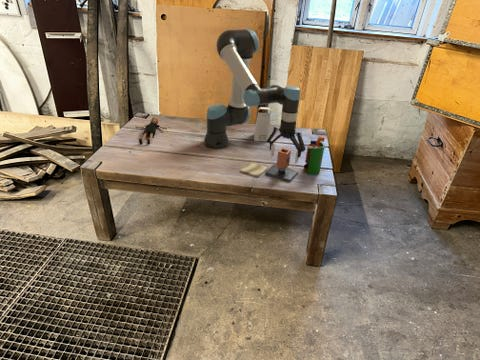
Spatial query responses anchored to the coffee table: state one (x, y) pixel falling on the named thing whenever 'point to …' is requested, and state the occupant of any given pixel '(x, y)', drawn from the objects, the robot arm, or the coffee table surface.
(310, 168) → the motor
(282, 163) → the square copper sleeve
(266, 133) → the grater
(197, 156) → the coffee table surface
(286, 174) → the grey peg stand
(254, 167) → the plywood pad
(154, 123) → the woman figure
